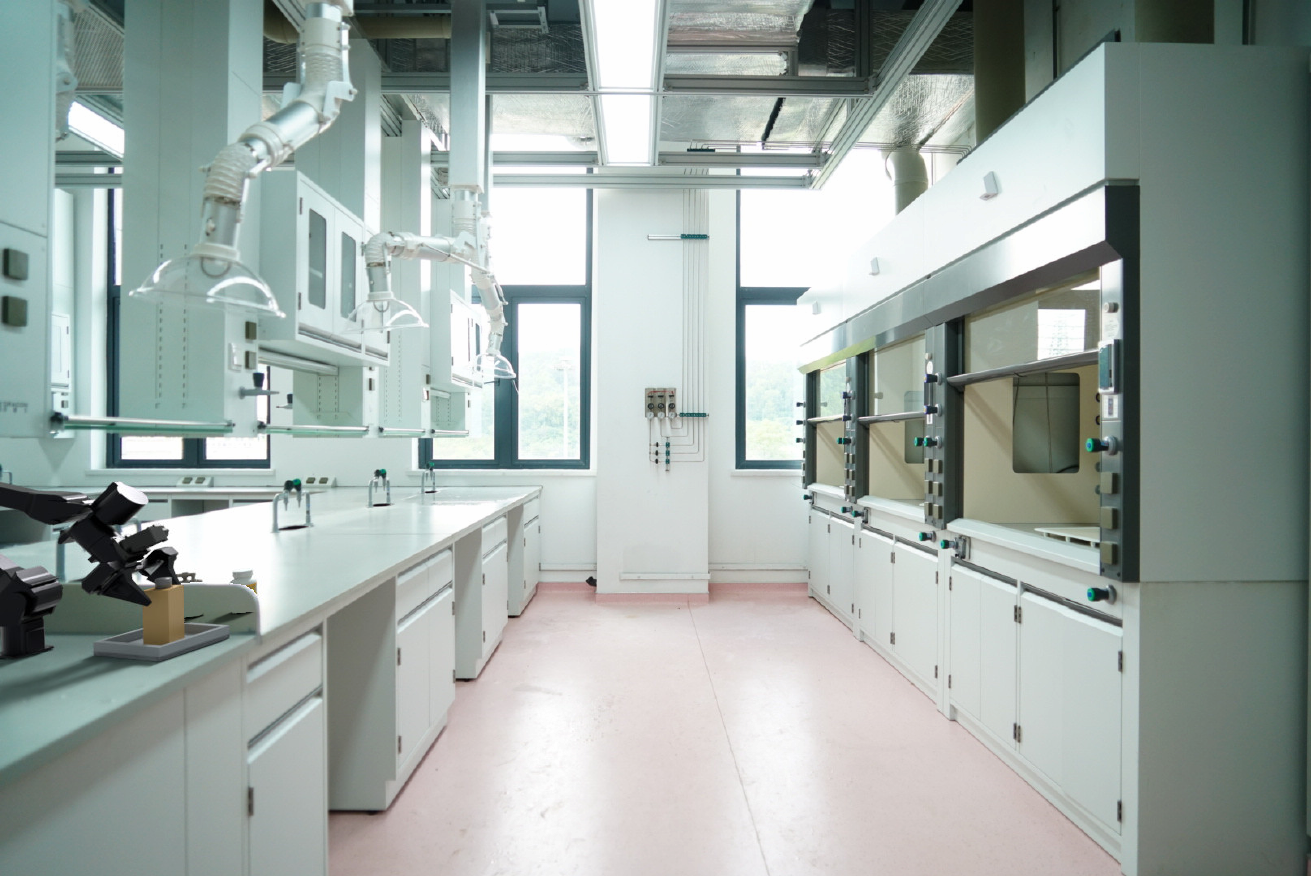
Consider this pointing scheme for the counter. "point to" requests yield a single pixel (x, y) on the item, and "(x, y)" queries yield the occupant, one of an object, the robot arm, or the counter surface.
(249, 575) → the supplement bottle
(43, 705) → the counter surface
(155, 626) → the reagent bottle
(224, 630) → the tray
